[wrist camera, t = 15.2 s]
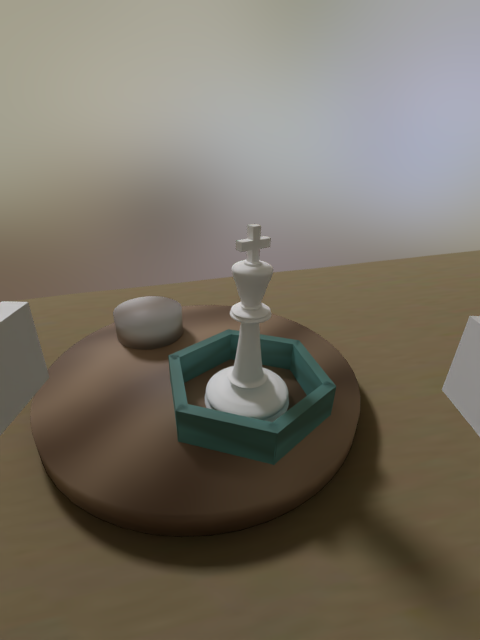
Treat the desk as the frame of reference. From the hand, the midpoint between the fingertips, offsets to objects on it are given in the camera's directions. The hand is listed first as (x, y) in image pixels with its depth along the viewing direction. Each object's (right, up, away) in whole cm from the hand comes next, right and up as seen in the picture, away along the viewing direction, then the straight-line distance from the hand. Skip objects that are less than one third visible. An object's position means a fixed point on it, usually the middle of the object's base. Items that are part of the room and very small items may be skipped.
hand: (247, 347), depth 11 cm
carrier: (-3, -4, +13) cm, 13 cm away
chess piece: (0, -4, +9) cm, 10 cm away
